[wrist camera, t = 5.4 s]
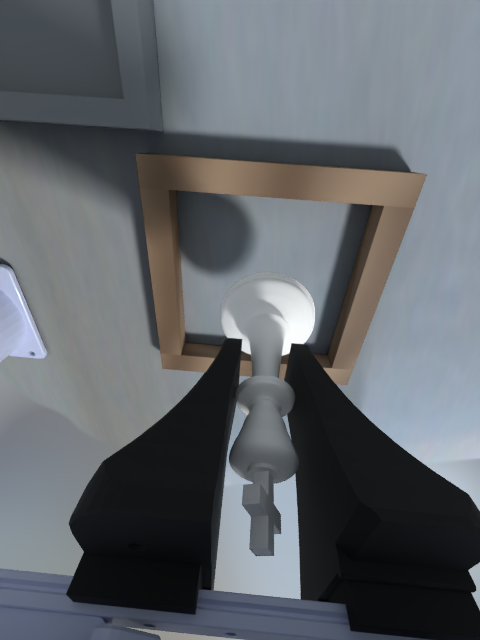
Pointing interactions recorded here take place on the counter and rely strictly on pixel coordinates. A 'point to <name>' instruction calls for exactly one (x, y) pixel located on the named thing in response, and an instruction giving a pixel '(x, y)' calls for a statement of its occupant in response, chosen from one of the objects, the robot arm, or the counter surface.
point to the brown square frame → (277, 182)
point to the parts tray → (80, 63)
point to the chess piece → (265, 390)
